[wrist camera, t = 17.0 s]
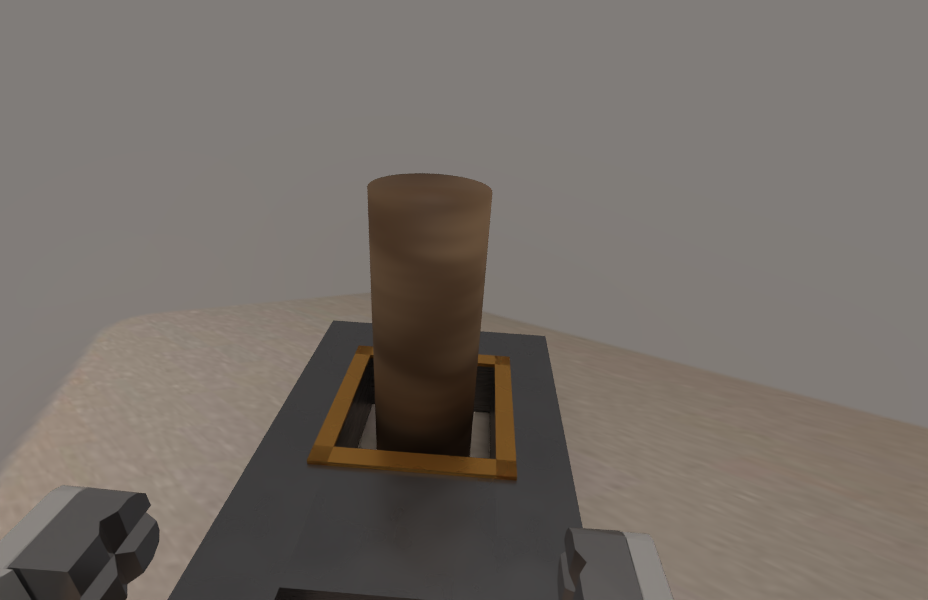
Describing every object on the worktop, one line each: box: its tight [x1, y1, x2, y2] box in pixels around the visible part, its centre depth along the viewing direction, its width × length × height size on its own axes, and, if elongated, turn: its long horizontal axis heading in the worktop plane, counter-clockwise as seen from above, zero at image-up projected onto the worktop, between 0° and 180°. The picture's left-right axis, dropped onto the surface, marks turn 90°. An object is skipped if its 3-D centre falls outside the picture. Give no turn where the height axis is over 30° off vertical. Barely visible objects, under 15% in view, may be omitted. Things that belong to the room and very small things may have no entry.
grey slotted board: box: [168, 321, 583, 600], centre depth 17 cm, size 12×26×3 cm, turn 177°
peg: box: [367, 173, 492, 457], centre depth 20 cm, size 4×4×13 cm
